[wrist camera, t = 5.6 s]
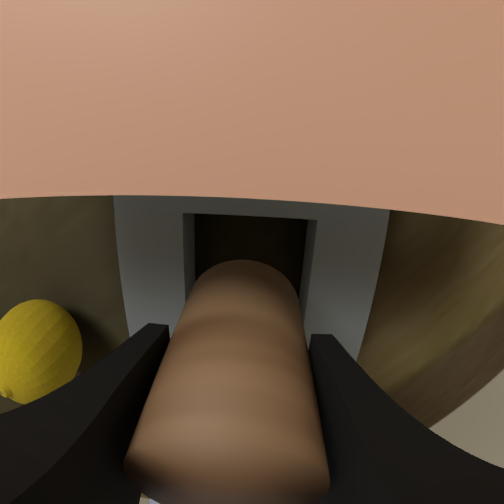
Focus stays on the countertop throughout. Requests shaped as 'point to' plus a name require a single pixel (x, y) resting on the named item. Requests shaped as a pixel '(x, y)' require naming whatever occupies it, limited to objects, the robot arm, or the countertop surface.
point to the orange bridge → (257, 101)
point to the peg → (233, 399)
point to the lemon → (37, 350)
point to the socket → (318, 214)
